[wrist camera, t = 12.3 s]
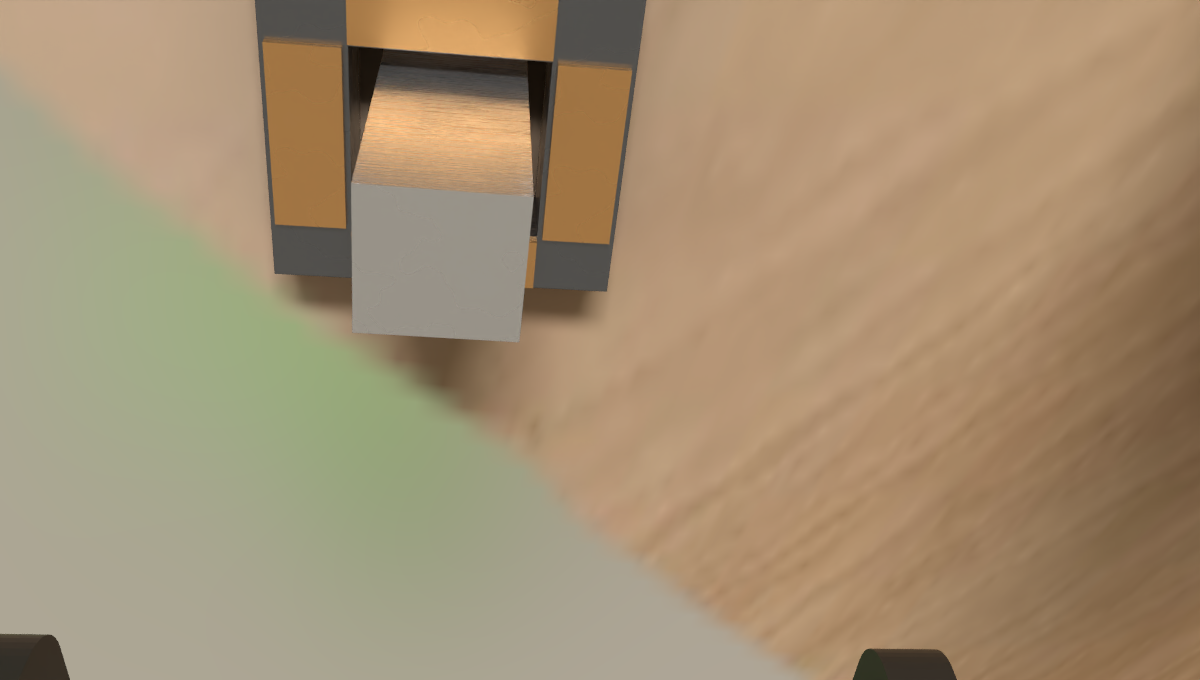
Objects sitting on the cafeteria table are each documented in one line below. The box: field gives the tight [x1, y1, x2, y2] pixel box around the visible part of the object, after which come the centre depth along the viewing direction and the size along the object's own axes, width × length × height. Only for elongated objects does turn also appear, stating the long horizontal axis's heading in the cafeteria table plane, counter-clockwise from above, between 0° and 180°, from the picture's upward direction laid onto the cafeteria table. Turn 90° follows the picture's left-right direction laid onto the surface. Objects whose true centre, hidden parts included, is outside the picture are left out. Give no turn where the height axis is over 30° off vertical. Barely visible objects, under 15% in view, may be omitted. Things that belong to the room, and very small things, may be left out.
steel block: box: [351, 49, 534, 342], centre depth 29 cm, size 4×4×9 cm
